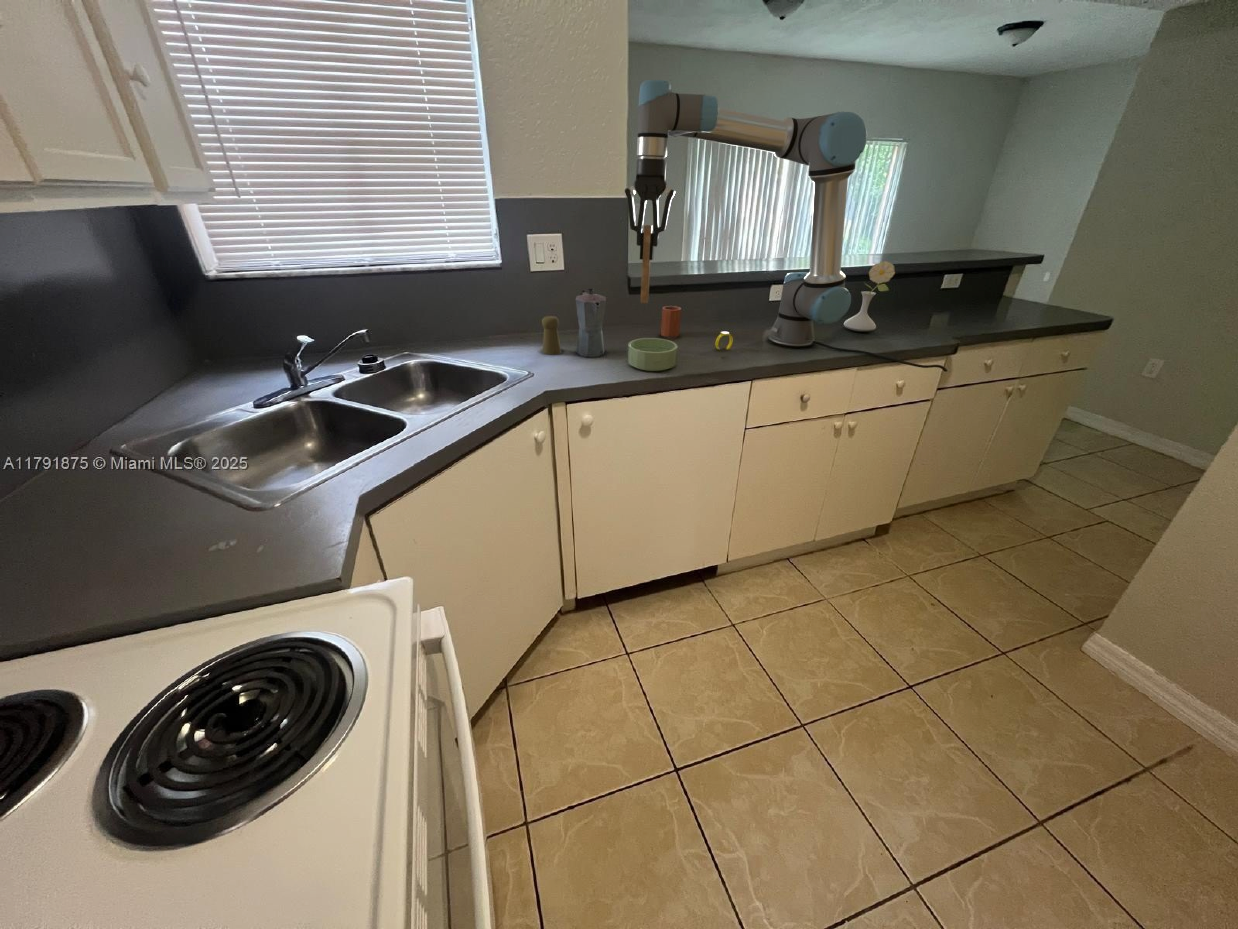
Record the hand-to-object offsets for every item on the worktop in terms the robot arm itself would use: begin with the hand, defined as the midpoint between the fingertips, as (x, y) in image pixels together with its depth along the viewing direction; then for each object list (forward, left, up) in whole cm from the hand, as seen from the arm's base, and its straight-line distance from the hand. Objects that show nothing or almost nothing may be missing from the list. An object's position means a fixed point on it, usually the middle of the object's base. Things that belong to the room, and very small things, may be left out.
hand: (646, 258), depth 134 cm
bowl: (-3, +2, -29) cm, 30 cm away
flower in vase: (-75, -57, -30) cm, 99 cm away
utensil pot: (-5, -29, -29) cm, 42 cm away
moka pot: (+18, -4, -30) cm, 35 cm away
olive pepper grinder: (+30, -2, -30) cm, 42 cm away
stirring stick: (0, 0, -12) cm, 12 cm away
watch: (-24, -18, -30) cm, 42 cm away
